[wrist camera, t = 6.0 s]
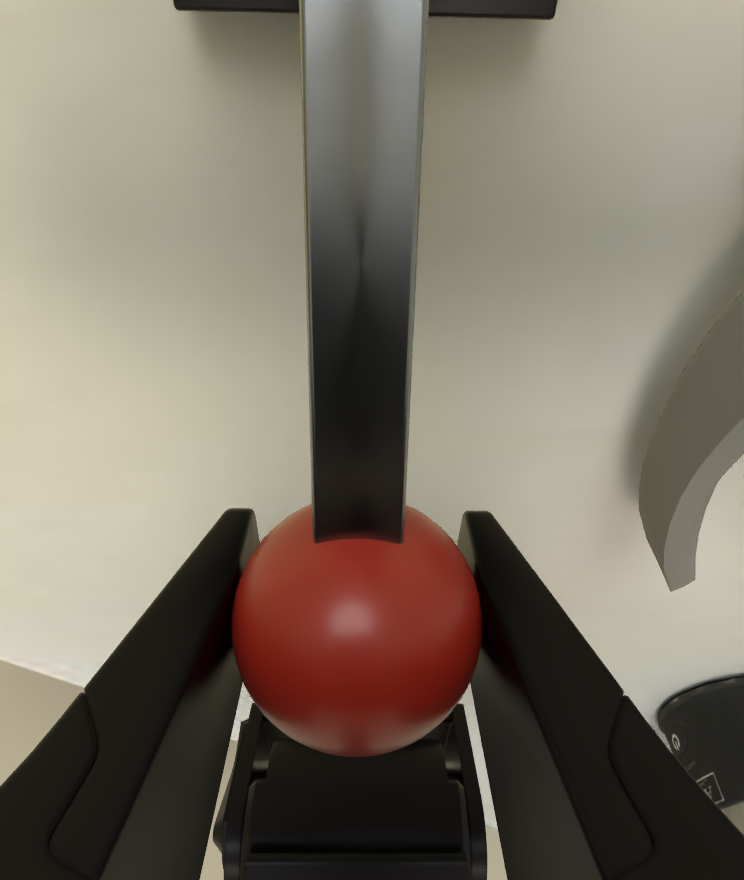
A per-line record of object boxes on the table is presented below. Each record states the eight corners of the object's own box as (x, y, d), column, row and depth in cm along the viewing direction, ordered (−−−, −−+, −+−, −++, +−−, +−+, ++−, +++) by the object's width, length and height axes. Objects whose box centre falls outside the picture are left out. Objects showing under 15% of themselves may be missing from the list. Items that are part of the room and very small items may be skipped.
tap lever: (454, 630, 11) (491, 819, 7) (260, 629, 10) (216, 819, 7) (583, -739, 5) (975, -2377, 2) (159, -759, 5) (-211, -2457, 2)
